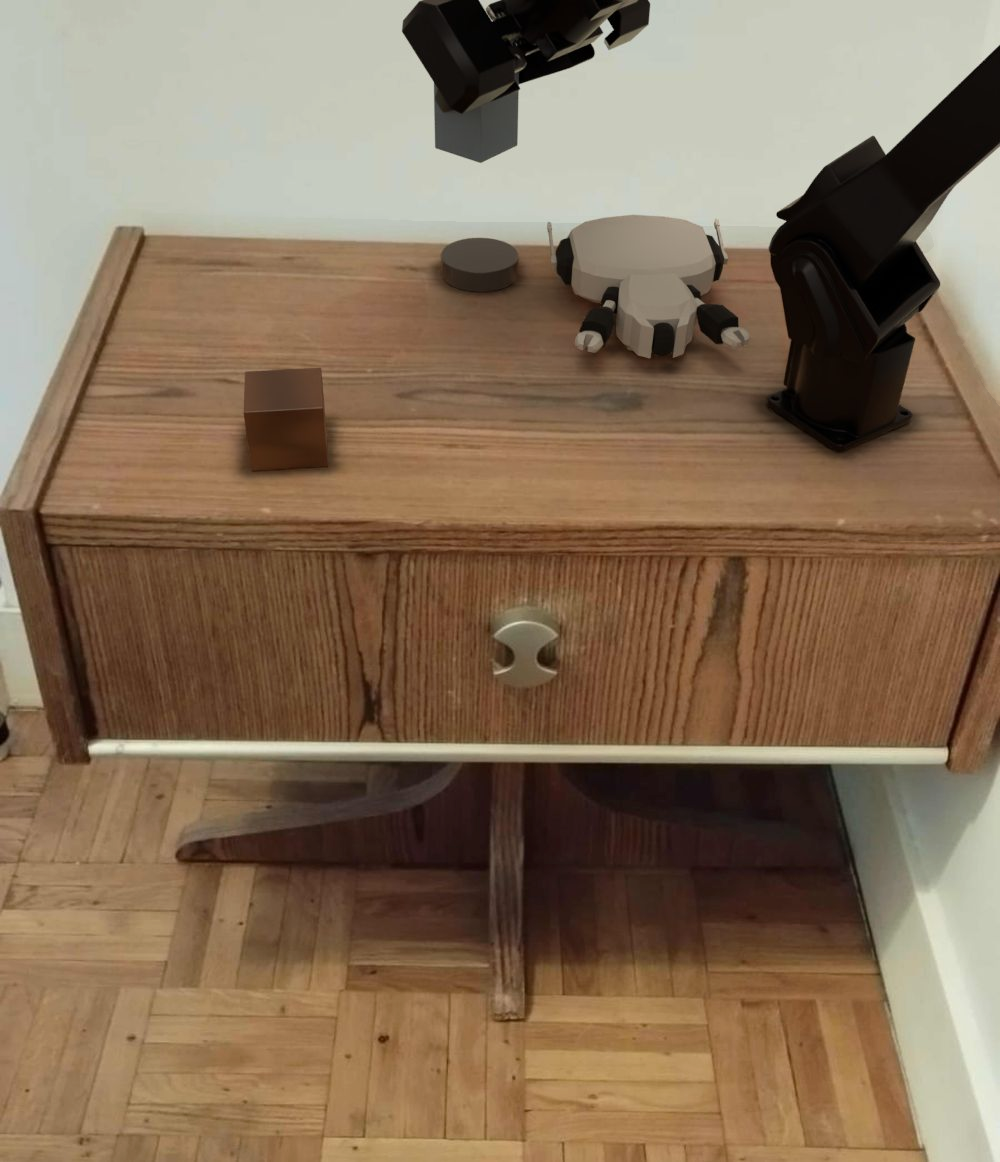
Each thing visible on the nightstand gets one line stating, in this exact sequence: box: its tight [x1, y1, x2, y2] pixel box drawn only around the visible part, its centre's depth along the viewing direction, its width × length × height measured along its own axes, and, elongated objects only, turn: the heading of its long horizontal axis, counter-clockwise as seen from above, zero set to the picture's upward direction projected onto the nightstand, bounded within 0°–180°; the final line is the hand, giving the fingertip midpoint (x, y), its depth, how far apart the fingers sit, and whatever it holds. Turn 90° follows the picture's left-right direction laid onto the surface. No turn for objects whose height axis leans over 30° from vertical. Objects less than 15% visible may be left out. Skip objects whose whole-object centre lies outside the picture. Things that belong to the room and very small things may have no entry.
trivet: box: [440, 237, 520, 293], centre depth 93 cm, size 6×6×2 cm
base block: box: [243, 367, 329, 472], centre depth 75 cm, size 4×4×4 cm
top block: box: [433, 41, 520, 164], centre depth 85 cm, size 4×4×7 cm
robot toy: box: [546, 214, 751, 359], centre depth 87 cm, size 12×4×15 cm
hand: (460, 96), depth 86 cm, fingers closed on top block, 4 cm apart
